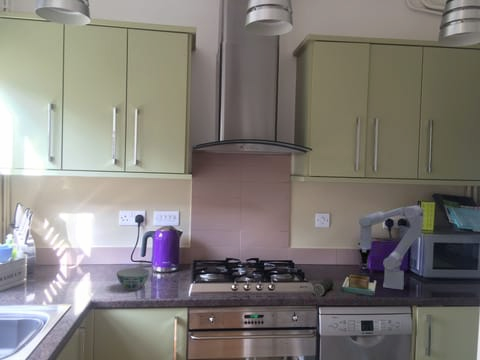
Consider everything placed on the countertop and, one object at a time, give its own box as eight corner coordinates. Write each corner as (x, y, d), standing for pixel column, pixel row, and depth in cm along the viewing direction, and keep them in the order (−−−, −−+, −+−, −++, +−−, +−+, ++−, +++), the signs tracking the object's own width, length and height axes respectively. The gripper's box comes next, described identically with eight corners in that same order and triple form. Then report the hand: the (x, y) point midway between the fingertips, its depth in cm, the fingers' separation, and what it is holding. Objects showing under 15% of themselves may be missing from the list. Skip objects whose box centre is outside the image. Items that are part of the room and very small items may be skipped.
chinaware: (139, 294, 175) (140, 277, 175) (110, 291, 179) (110, 274, 179) (154, 285, 190) (154, 269, 190) (126, 282, 193) (127, 266, 193)
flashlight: (324, 287, 196) (324, 276, 196) (334, 289, 193) (334, 278, 193) (312, 294, 183) (312, 283, 183) (323, 297, 180) (323, 285, 180)
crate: (368, 288, 193) (369, 277, 193) (367, 292, 187) (368, 280, 187) (350, 285, 197) (350, 274, 196) (348, 289, 190) (348, 278, 190)
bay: (376, 284, 203) (376, 280, 203) (373, 295, 184) (374, 291, 184) (346, 280, 208) (346, 276, 208) (341, 291, 190) (341, 286, 190)
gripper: (359, 235, 217) (358, 259, 218) (356, 239, 204) (355, 265, 204) (372, 236, 215) (371, 260, 215) (370, 240, 201) (369, 266, 202)
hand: (364, 263), depth 210 cm, fingers closed
